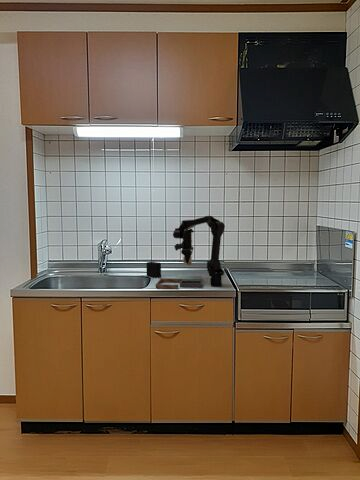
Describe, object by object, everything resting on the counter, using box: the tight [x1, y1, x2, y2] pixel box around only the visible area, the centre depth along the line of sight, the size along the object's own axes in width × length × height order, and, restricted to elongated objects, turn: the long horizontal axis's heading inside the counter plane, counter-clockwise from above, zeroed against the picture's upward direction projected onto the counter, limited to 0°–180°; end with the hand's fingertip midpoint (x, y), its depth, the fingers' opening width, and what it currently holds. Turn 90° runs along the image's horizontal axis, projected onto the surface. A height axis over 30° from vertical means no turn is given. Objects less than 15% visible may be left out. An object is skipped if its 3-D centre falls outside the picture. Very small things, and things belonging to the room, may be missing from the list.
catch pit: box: [179, 280, 203, 289], centre depth 251 cm, size 13×8×2 cm, turn 83°
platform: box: [175, 274, 202, 281], centre depth 268 cm, size 16×12×2 cm
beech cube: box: [182, 255, 193, 266], centre depth 266 cm, size 5×5×5 cm
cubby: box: [155, 277, 182, 290], centre depth 252 cm, size 14×18×2 cm
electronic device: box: [145, 261, 162, 279], centre depth 278 cm, size 4×10×10 cm, turn 49°
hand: (187, 262), depth 266 cm, fingers closed on beech cube, 5 cm apart
